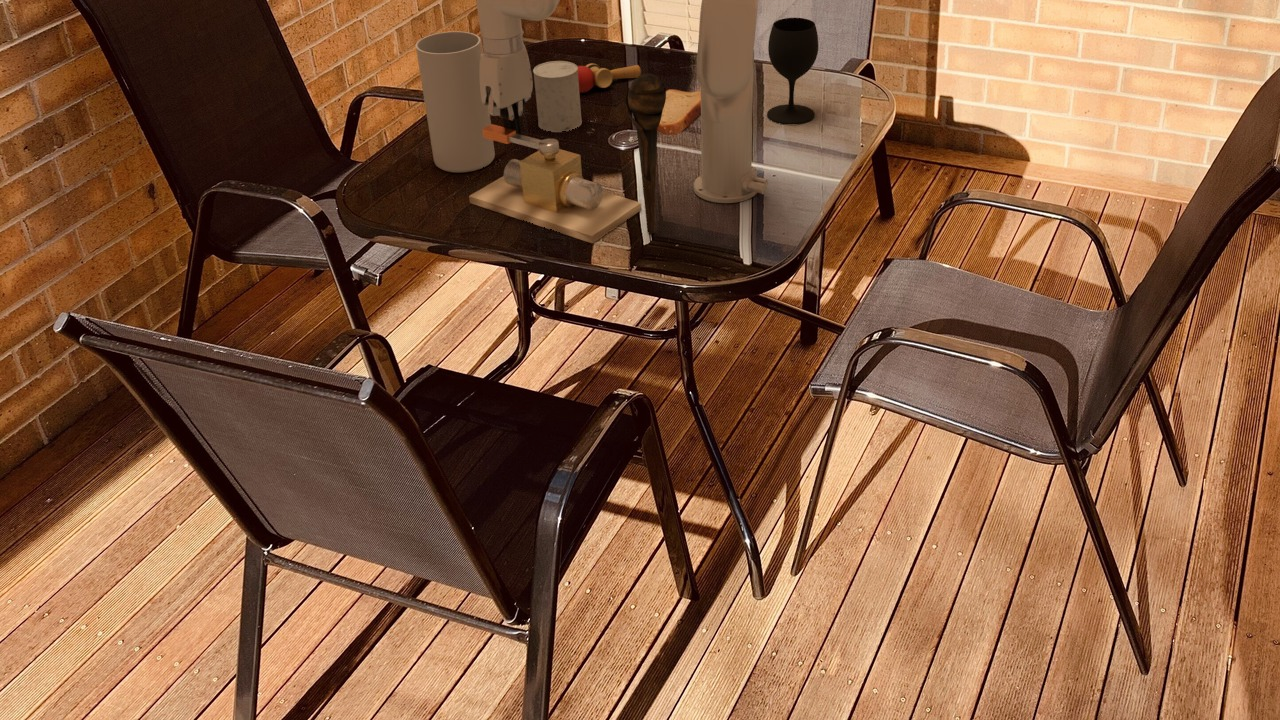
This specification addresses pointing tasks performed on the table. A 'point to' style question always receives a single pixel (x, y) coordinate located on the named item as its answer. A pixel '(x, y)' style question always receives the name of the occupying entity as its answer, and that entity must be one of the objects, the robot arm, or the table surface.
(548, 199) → the valve body
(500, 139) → the valve lever
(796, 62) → the wine glass
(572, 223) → the mounting board
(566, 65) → the grey stone cylinder
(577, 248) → the table surface
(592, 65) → the kendama
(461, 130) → the cylinder vase
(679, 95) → the bread slice
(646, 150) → the decorative torch
